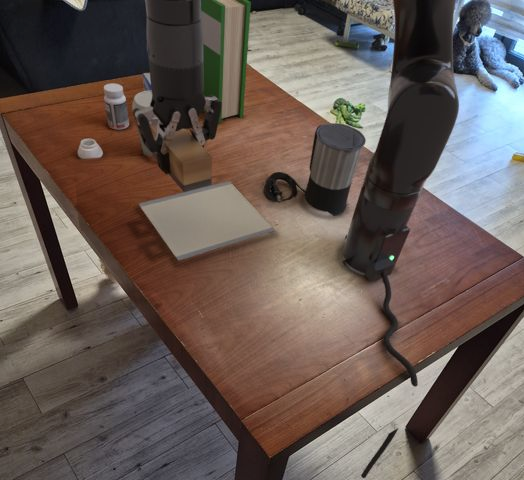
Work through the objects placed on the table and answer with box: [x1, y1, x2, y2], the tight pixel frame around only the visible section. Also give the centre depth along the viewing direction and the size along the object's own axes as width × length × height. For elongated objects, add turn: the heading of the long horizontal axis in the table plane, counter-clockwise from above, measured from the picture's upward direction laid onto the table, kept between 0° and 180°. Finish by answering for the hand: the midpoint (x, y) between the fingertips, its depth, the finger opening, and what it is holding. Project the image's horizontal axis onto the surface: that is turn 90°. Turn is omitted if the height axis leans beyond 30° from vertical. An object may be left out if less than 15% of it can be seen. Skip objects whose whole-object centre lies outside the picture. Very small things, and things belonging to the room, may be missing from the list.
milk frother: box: [263, 122, 367, 217], centre depth 92 cm, size 14×16×15 cm
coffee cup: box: [131, 90, 159, 159], centre depth 98 cm, size 8×8×12 cm
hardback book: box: [201, 0, 252, 125], centre depth 110 cm, size 18×7×24 cm, turn 37°
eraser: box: [150, 125, 213, 193], centre depth 76 cm, size 12×5×5 cm, turn 32°
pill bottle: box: [103, 82, 130, 131], centre depth 105 cm, size 5×5×8 cm
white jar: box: [77, 138, 104, 160], centre depth 98 cm, size 5×3×5 cm
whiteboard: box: [138, 180, 276, 262], centre depth 89 cm, size 18×20×1 cm
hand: (181, 167), depth 78 cm, fingers closed on eraser, 5 cm apart
